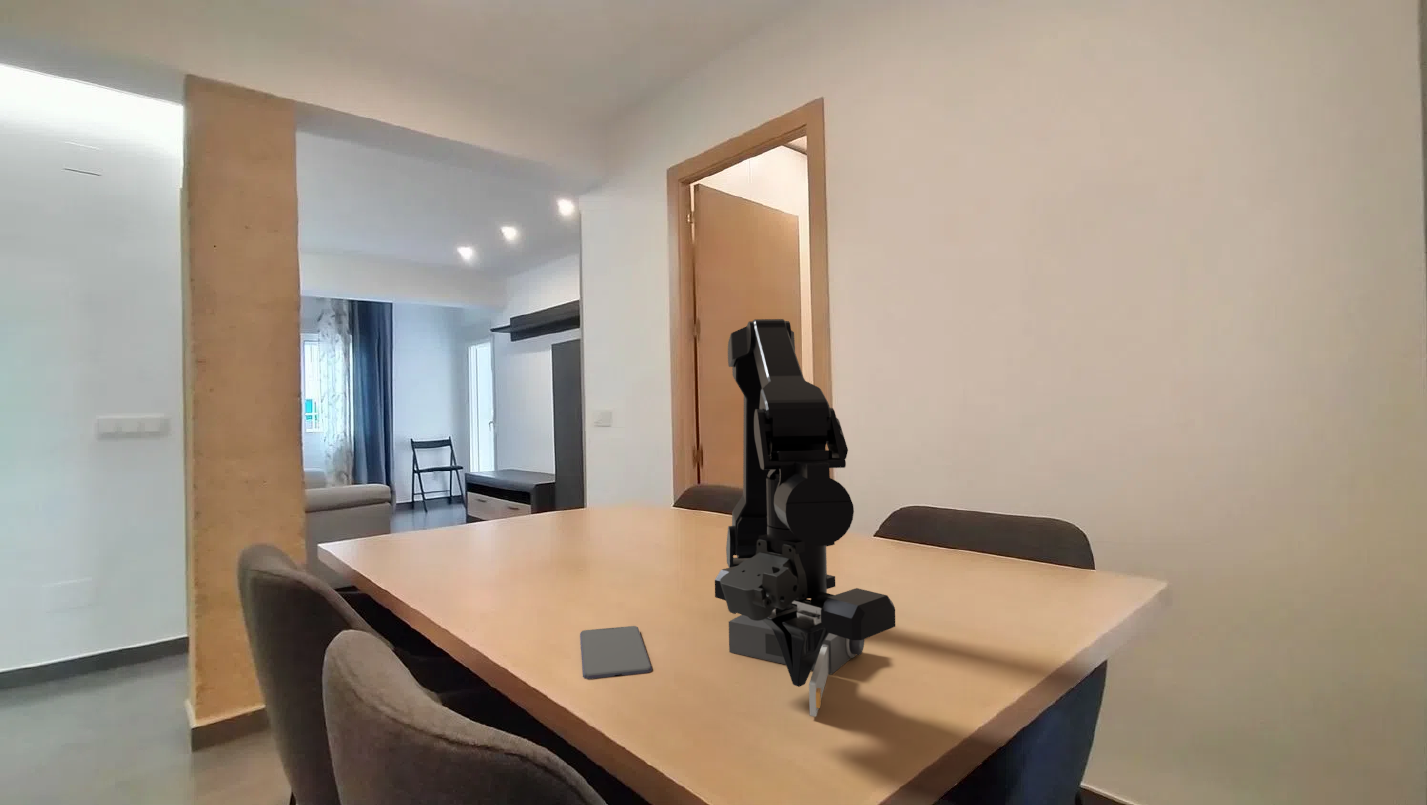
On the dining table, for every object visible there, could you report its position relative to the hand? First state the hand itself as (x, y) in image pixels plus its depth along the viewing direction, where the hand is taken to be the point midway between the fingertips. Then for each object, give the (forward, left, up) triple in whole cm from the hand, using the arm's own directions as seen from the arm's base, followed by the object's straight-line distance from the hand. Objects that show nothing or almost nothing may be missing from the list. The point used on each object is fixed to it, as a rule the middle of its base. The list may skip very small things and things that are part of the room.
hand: (799, 685), depth 63 cm
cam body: (-6, +11, -2) cm, 13 cm away
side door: (+1, +2, -1) cm, 3 cm away
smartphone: (-25, 0, -2) cm, 25 cm away
